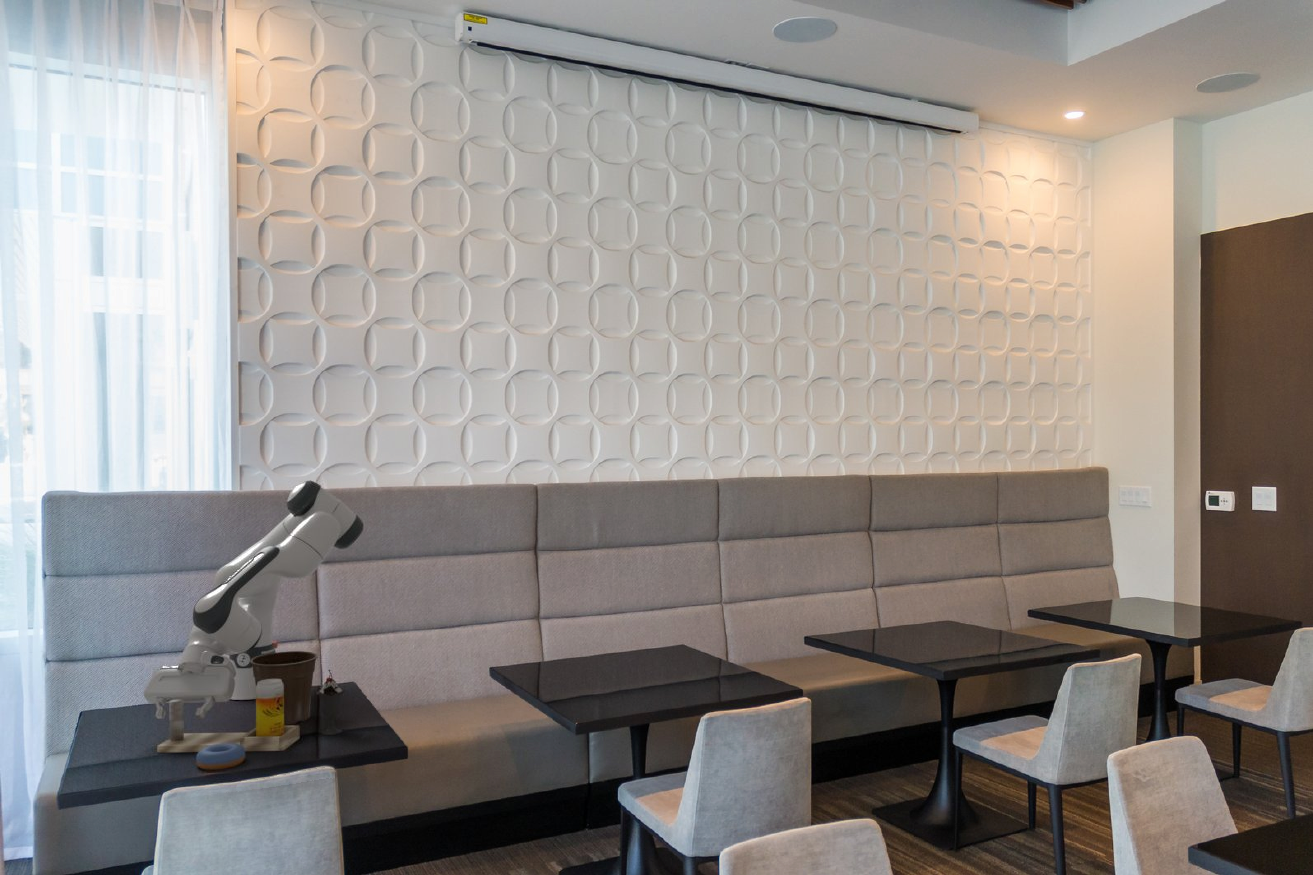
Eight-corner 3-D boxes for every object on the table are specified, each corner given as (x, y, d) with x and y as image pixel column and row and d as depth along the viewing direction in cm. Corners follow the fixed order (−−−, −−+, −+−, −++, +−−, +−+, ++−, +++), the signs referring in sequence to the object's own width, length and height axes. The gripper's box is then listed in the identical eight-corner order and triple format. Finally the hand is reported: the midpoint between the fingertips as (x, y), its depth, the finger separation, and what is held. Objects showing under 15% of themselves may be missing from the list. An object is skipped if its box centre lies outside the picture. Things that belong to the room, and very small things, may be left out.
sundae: (331, 727, 245) (330, 667, 246) (351, 730, 242) (350, 669, 243) (311, 734, 240) (310, 672, 240) (331, 737, 237) (330, 675, 237)
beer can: (274, 749, 227) (273, 684, 228) (250, 748, 229) (250, 683, 229) (289, 742, 233) (288, 678, 234) (266, 741, 235) (265, 677, 235)
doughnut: (208, 773, 210) (209, 751, 211) (187, 767, 217) (188, 745, 217) (253, 766, 218) (254, 745, 218) (231, 760, 224) (232, 739, 225)
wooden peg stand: (157, 752, 226) (156, 706, 226) (178, 739, 236) (178, 695, 236) (283, 750, 226) (283, 704, 226) (299, 737, 236) (299, 693, 236)
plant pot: (319, 724, 248) (319, 660, 249) (250, 732, 243) (249, 666, 243) (316, 709, 264) (316, 648, 264) (251, 716, 258) (250, 654, 258)
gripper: (151, 659, 239) (130, 710, 230) (235, 658, 240) (218, 708, 230) (160, 674, 244) (140, 724, 234) (243, 672, 244) (226, 722, 234)
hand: (179, 716), depth 232 cm, fingers open, 8 cm apart
